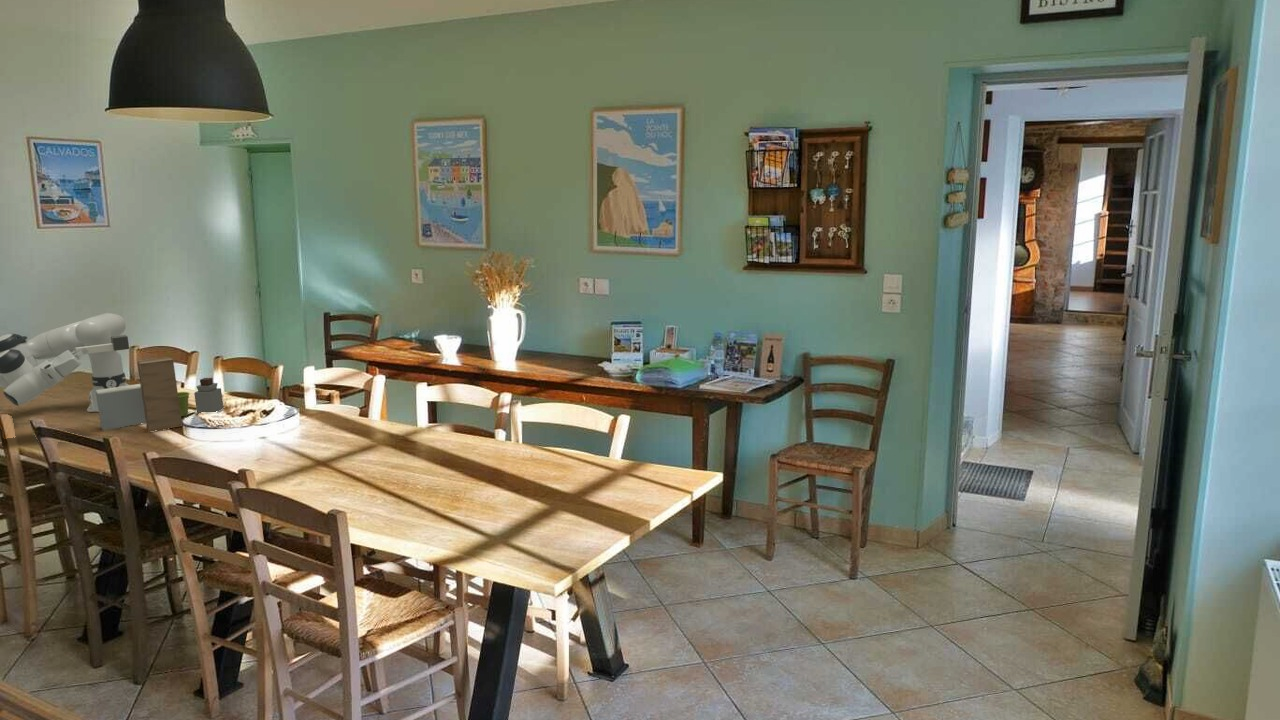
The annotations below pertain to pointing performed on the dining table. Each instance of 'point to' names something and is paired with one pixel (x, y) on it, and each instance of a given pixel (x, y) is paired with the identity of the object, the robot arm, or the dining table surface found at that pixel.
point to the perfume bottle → (208, 396)
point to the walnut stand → (159, 393)
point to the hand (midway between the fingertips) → (86, 348)
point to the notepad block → (120, 406)
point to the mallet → (108, 345)
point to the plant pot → (183, 402)
